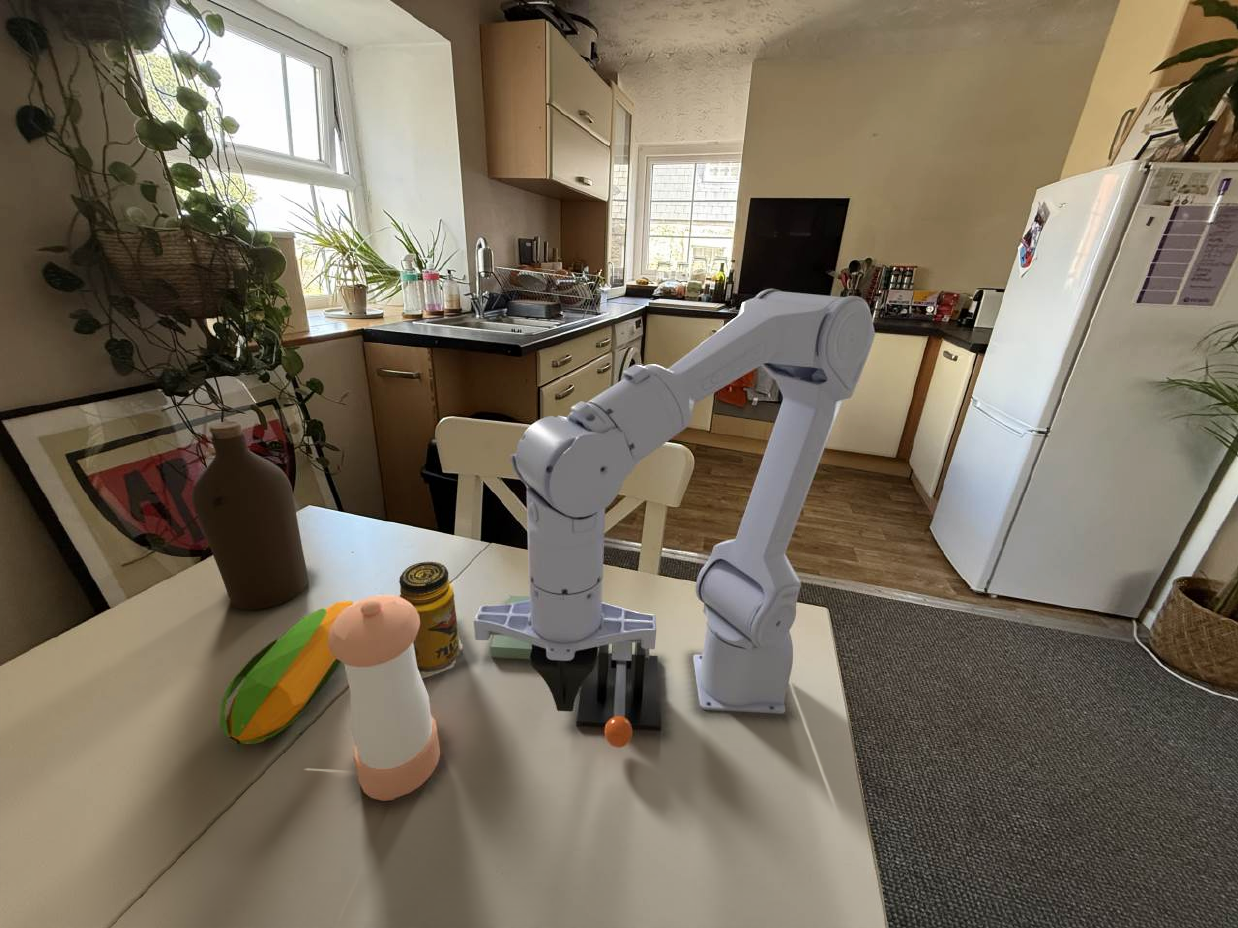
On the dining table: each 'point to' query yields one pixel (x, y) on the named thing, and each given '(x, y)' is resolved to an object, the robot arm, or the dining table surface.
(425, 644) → the condiment
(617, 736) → the switch lever
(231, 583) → the olive oil
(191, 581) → the dining table surface
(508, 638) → the block
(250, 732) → the corn
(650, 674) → the switch bracket
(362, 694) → the pepper shaker
